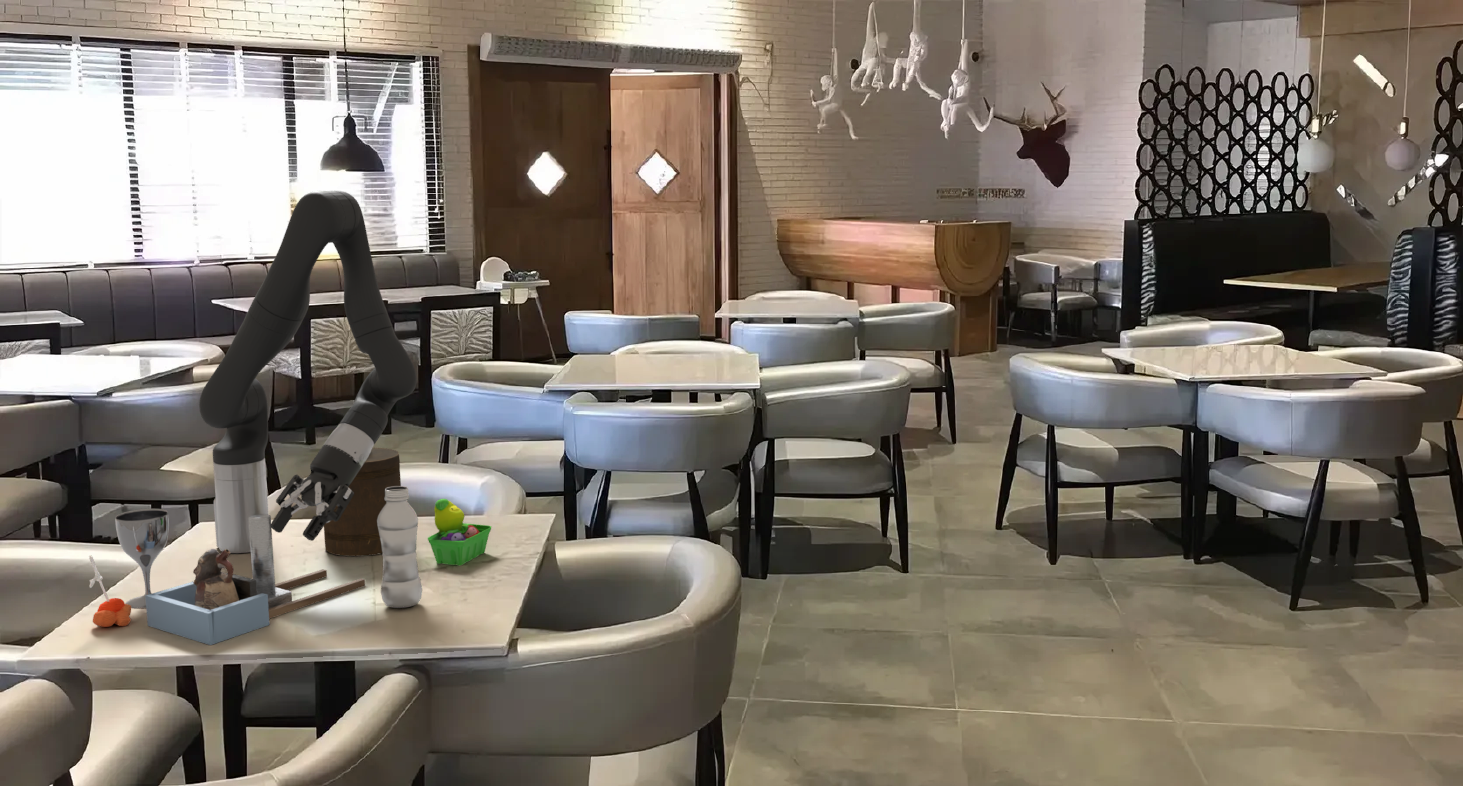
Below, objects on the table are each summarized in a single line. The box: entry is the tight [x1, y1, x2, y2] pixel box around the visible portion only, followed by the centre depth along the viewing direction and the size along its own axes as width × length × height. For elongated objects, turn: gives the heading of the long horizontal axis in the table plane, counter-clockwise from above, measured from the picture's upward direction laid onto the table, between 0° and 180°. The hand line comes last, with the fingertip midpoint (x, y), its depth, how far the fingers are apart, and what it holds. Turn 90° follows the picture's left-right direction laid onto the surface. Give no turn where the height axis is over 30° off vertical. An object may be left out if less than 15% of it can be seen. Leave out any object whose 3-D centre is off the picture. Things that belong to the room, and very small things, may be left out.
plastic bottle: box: [377, 485, 423, 609], centre depth 204 cm, size 6×7×20 cm
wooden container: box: [323, 447, 402, 557], centre depth 239 cm, size 15×15×22 cm
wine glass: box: [114, 508, 170, 609], centre depth 207 cm, size 8×8×15 cm
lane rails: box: [269, 569, 366, 619], centre depth 209 cm, size 11×22×1 cm, turn 148°
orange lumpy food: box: [88, 555, 132, 628], centre depth 195 cm, size 6×10×12 cm, turn 170°
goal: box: [144, 580, 270, 646], centre depth 196 cm, size 16×11×5 cm, turn 57°
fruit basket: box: [427, 498, 492, 567], centre depth 232 cm, size 11×9×11 cm
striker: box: [226, 514, 293, 609], centre depth 203 cm, size 7×8×15 cm
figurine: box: [192, 548, 239, 610], centre depth 197 cm, size 7×7×12 cm
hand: (291, 534), depth 209 cm, fingers open, 8 cm apart
